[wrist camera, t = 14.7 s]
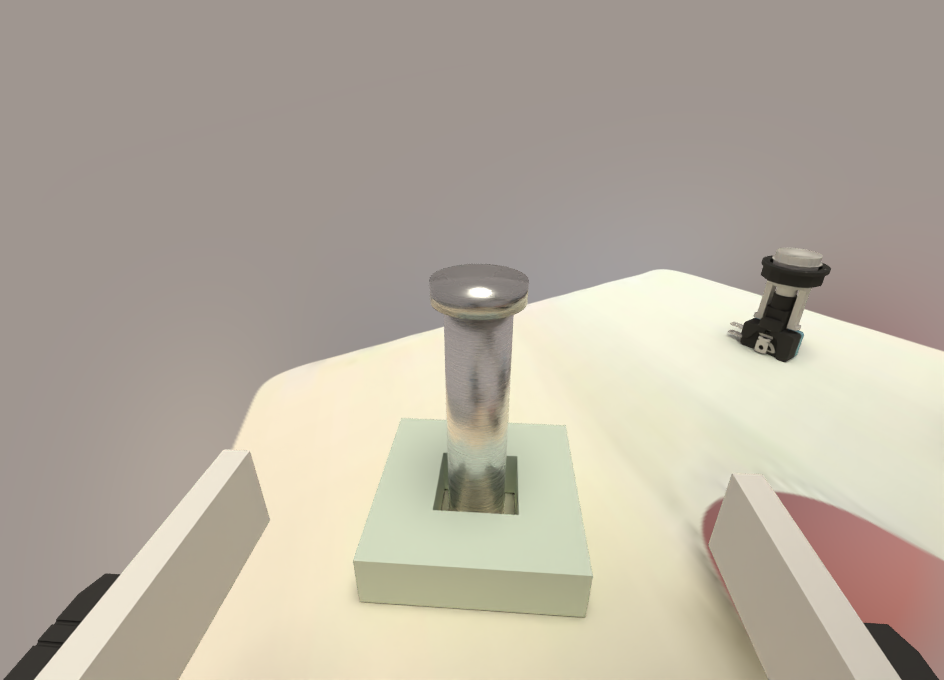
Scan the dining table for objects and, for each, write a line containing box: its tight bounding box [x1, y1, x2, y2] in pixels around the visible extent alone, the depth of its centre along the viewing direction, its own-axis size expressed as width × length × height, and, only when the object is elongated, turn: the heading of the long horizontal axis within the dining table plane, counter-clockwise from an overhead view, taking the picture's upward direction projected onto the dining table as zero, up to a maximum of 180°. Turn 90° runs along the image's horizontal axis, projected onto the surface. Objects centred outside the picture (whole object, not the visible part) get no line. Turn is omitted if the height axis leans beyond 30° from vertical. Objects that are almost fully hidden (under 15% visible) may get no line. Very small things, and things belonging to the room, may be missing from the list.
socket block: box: [353, 418, 593, 617], centre depth 27 cm, size 11×11×3 cm
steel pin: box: [429, 264, 529, 514], centre depth 24 cm, size 4×4×15 cm
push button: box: [728, 248, 831, 362], centre depth 45 cm, size 7×5×10 cm
